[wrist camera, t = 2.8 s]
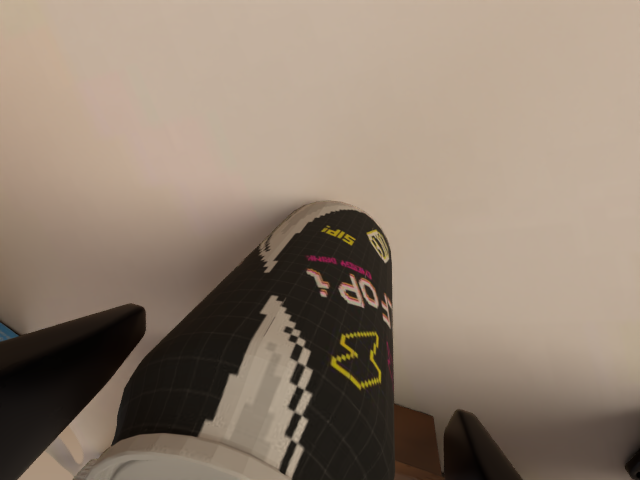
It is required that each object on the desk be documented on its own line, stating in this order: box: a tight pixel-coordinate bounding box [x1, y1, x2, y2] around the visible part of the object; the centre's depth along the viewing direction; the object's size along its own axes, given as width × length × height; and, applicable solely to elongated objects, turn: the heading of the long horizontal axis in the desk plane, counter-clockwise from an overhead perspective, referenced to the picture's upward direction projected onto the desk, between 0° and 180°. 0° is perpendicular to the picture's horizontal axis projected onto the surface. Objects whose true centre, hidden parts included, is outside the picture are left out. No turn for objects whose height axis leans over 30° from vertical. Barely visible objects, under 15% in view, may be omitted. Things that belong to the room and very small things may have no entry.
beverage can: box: [84, 201, 395, 480], centre depth 10 cm, size 6×6×12 cm
